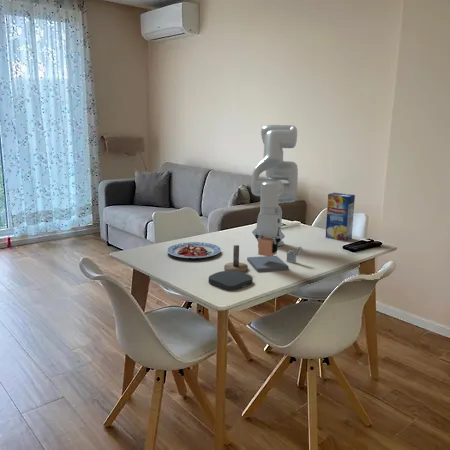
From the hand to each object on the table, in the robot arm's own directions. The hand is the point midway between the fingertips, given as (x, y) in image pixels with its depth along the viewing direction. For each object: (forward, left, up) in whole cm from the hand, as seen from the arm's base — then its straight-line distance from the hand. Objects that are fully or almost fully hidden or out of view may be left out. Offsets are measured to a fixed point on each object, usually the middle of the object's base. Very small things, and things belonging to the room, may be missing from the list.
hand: (267, 250), depth 199 cm
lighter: (-1, +13, -7) cm, 15 cm away
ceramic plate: (-24, -29, -7) cm, 38 cm away
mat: (0, 0, -7) cm, 7 cm away
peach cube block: (0, 0, -2) cm, 2 cm away
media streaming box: (+18, -21, -7) cm, 28 cm away
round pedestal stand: (+3, -15, -7) cm, 17 cm away
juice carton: (-37, +53, -7) cm, 65 cm away
